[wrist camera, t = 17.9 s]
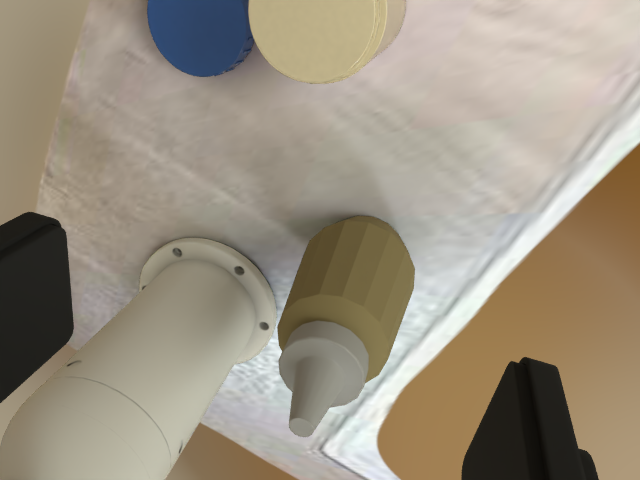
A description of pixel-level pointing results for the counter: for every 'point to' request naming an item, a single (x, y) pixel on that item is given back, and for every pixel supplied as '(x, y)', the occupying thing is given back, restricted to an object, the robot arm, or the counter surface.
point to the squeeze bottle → (342, 316)
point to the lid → (201, 34)
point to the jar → (323, 35)
